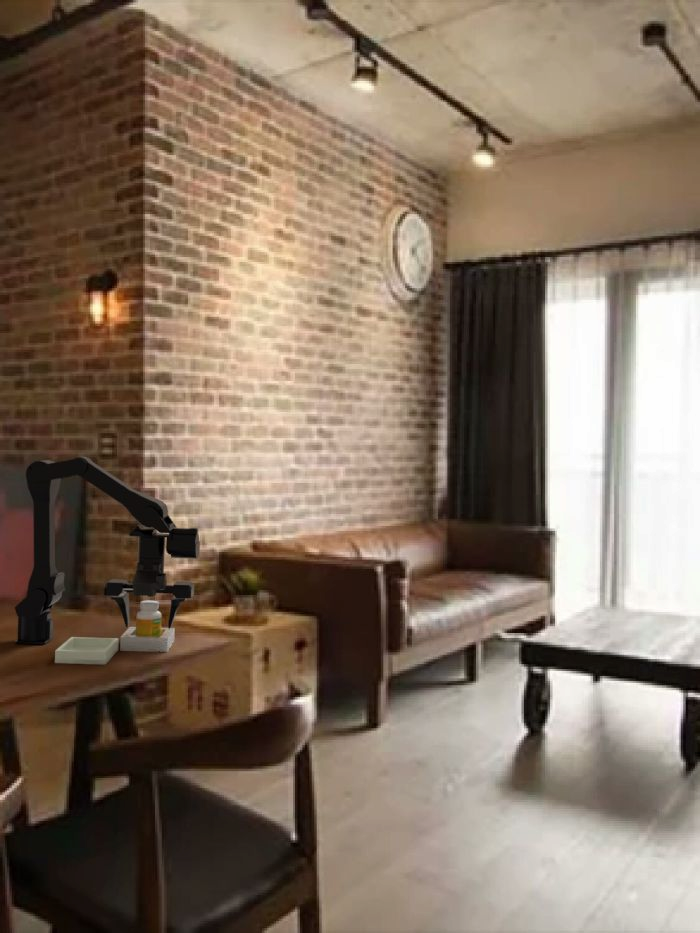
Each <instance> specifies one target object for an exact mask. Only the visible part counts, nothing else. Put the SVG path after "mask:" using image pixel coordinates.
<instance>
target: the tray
mask: <svg viewBox="0 0 700 933" xmlns="http://www.w3.org/2000/svg"><path fill="white" fill-rule="evenodd" d="M119 640H120V639H119V638H116V637H114V638H113V637H85V636H84V637H81V636H79V637H78V636H71V637H70V638H69V639H67V640H66V641H65V642H63V643H62V644H61V645H60V646H59V647H57V649H55V651H54V653H55V654H54V663H55V664H73V665H74V664H78V665H79V664H80V665H106V664H107V663H108V662H109V661H110V660H111V659H112V657H114V655H115V654H117V652H118V651H119V644H120V641H119Z"/></svg>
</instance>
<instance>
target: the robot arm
mask: <svg viewBox="0 0 700 933" xmlns="http://www.w3.org/2000/svg"><path fill="white" fill-rule="evenodd" d="M77 476H79V477H80V478H82V479H83V480H85V481H86V482H88V483H89V484H91V485H92V486H94V487H96V488H97V489H98V490H100V491H101V492H102V493H104V494H106V495H108V496H109V497H110V498H112V499H114V500H115V501H117V502H118V503H120V504H121V505H122V506H123V507H124V508H125V509H126V510H127V512H129V514H130V515H131V516H132V517H133V518H134V519H135V520H136V521H137V522H138V523H139V524H137V525H136V526H135V528H134V529H133V530H131V531H130V532H129V533H128V536H129V537H138V540H137V541H138V542H137V543H138V544H137V565H136V571H135V574H134V577H133V579H132V583H129V582H128V579H122V578H121V579H120V578H119V579H118V578H115V579H114V578H112V579H110V580H108V581H107V582H106V583H105V585H104V589H103V590H104V591H103V592H104V594H103V595H104V596H107V597H109V599H110V600H112V601H113V600H114V601H115V602H116V603H117V605H118V607H119V610H120V612H121V616H122V619H123V623H124V625H125V628H129V627H130V593H132V595H133V596H134V597H139V596H141V597H142V596H145V597H149V598H150V597H155V596H156V594H171V595H172V596H173V597H172V598H171V599H170V609H169V610H170V611H169V616H168V623H167V624H168V625H167V628H169V629H170V628H172V625H173V622H174V621H175V617H176V615H177V611H178V609H179V608H180V606H181V603H185V602H186V601H187V599H191V598H192V597H193V596H194V595H195V584H194V583H193V582H192V581H176V582H175V583H174V584H168V583H167V580H168V579H167V573H165V555H166V554H167V555H170V557H171V559H187V560H188V559H189V560H191V559H192V560H197V559H199V556H200V549H201V541H200V534H199V527H188V528H186V527H178V526H176V524H175V523H174V522H173V520H172V518H171V517H170V516H169V509H168V505H167V504H166V503H165V502H164V501H162V500H160V499H159V498H156V497H154V496H152V495H149V494H147V493H144V492H141V491H138V490H136V489H134V488H133V487H131V486H129V485H128V484H126V483H125V482H124V481H122V480H121V479H119V478H118V477H116V476H114V475H113V474H112V473H110V472H109V471H107V470H105V469H104V468H102V466H100V465H98V464H96V463H95V462H93V460H91V458H89V457H88V456H79V457H75V458H72V459H68V460H67V459H66V460H62V461H57V462H55V461H54V460H49V459H47V460H38V461H37V460H36V461H33V462H32V463H30V464H29V465H28V466H27V467H26V468H25V479H26V480H25V481H26V486H27V491H28V493H29V496H30V498H31V501H32V506H33V507H32V510H33V511H32V512H33V513H32V515H33V516H32V518H33V522H32V523H33V524H32V526H33V528H32V529H33V532H32V534H33V535H32V536H33V539H32V540H33V548H32V549H33V567H32V570H31V574H30V576H29V580H28V581H27V582H28V583H27V589H26V596H25V597H24V598H23V599H22V600H21V601H20V602H19V603H18V604H17V605H16V606H14V610H15V613H16V616H17V638H16V640H14V644H27V645H29V644H30V645H31V644H32V645H33V644H34V645H45V644H47V643H48V642H49V641H50V640H52V639H53V638H54V637H53V636H54V619H53V618H52V611H51V610H53V607H54V606H55V603H57V602H58V601H59V600H60V599H61V598H62V595H63V592H64V591H66V587H65V583H64V582H65V572H64V571H62V572H59V571H58V568H57V566H56V533H55V532H56V529H55V528H56V526H55V525H56V517H55V516H56V512H55V511H56V509H55V507H56V505H55V503H56V498H57V496H58V494H59V490H60V487H61V480H62V479H66V478H73V477H77ZM142 526H143V527H146V528H143V527H142ZM165 550H166V554H165Z"/></svg>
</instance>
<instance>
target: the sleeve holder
mask: <svg viewBox="0 0 700 933" xmlns="http://www.w3.org/2000/svg"><path fill="white" fill-rule="evenodd" d="M175 632H176V630H175V627H171V628H170V629H169V628H168V627H161V636H141V635H136V626H129V627H127V629H126V630H125V631H124V632H123V633H122V635H120V639H119V640H120V641H119V644H120V646H119V648H120V649H119V650H120V652H121V651H123V652H149V653H150V652H152V653H153V652H154V653H168V652H169V650H170V649H169V648H171V647H172V646H173V644H174V643H175V635H176V634H175ZM172 643H173V644H172ZM159 651H160V652H159Z"/></svg>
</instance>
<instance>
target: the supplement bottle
mask: <svg viewBox="0 0 700 933" xmlns="http://www.w3.org/2000/svg"><path fill="white" fill-rule="evenodd" d="M159 604H160V603H159V601H157V600H141V601H140V603H139V609H140V611H137V613H136V621H135V622H136V623H135V627H136V635H141V636H161V628H162V612H160V611H159V610H158V609H159V606H160V605H159Z"/></svg>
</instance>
